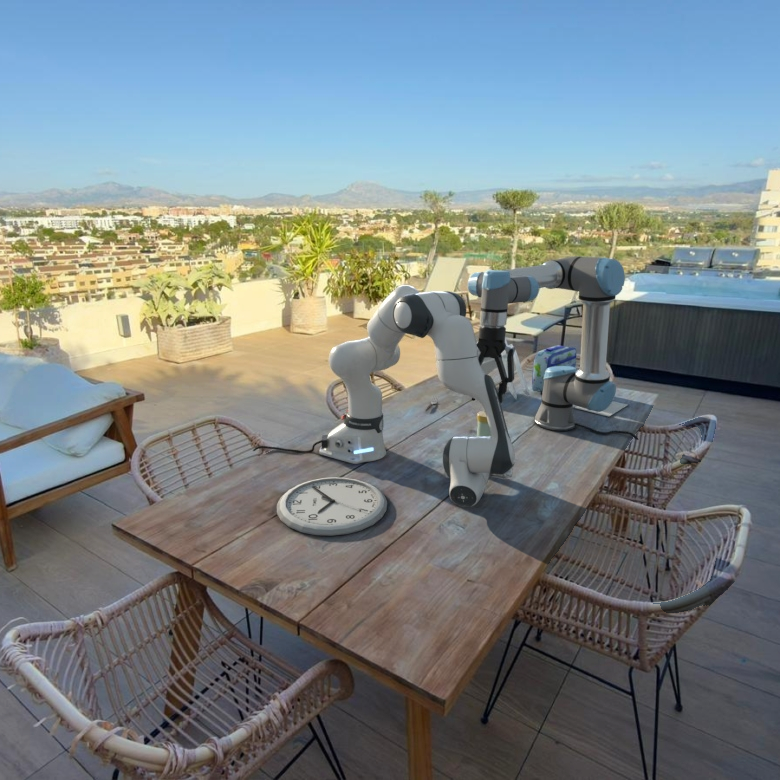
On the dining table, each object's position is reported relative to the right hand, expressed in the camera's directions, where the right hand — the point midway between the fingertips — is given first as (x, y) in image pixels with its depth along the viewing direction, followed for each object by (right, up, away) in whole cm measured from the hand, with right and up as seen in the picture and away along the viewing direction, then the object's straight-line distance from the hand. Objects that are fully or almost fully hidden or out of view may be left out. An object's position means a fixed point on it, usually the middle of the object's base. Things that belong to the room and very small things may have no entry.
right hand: (486, 401), depth 157 cm
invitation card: (+62, -4, +70) cm, 94 cm away
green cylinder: (0, -22, +7) cm, 23 cm away
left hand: (0, -16, +5) cm, 17 cm away
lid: (0, -4, +1) cm, 4 cm away
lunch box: (+48, +3, +91) cm, 103 cm away
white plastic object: (+13, +2, +86) cm, 87 cm away
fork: (-12, -4, +66) cm, 67 cm away
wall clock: (-45, -28, -14) cm, 55 cm away
